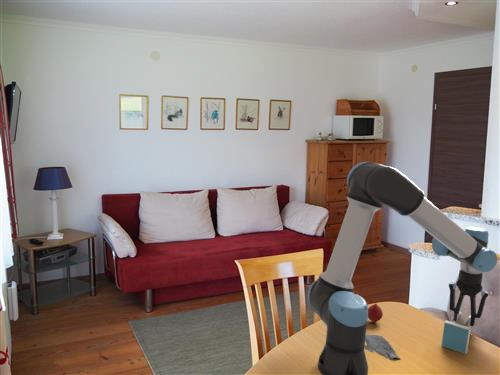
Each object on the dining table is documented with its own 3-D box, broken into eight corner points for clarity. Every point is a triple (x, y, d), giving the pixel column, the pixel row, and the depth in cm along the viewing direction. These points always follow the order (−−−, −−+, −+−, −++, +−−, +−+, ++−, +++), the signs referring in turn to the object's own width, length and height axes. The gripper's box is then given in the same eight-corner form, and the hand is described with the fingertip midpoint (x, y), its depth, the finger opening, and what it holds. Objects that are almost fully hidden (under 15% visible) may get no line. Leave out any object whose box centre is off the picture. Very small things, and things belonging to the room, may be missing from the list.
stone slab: (351, 331, 162) (377, 328, 164) (351, 335, 163) (377, 333, 164) (373, 359, 145) (402, 356, 146) (373, 364, 145) (401, 361, 147)
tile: (441, 346, 156) (444, 322, 155) (442, 343, 158) (446, 320, 157) (465, 354, 152) (469, 330, 150) (467, 352, 153) (470, 327, 152)
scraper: (447, 338, 158) (449, 322, 157) (459, 321, 172) (461, 306, 171) (465, 344, 155) (467, 328, 154) (476, 326, 169) (478, 311, 168)
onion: (363, 319, 174) (365, 300, 172) (375, 318, 175) (377, 299, 174) (371, 326, 168) (373, 306, 167) (384, 325, 170) (386, 305, 169)
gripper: (498, 273, 158) (488, 335, 161) (450, 262, 167) (442, 321, 171) (494, 279, 152) (484, 343, 156) (444, 267, 161) (436, 327, 165)
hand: (462, 331), depth 163 cm, fingers closed on scraper, 3 cm apart
